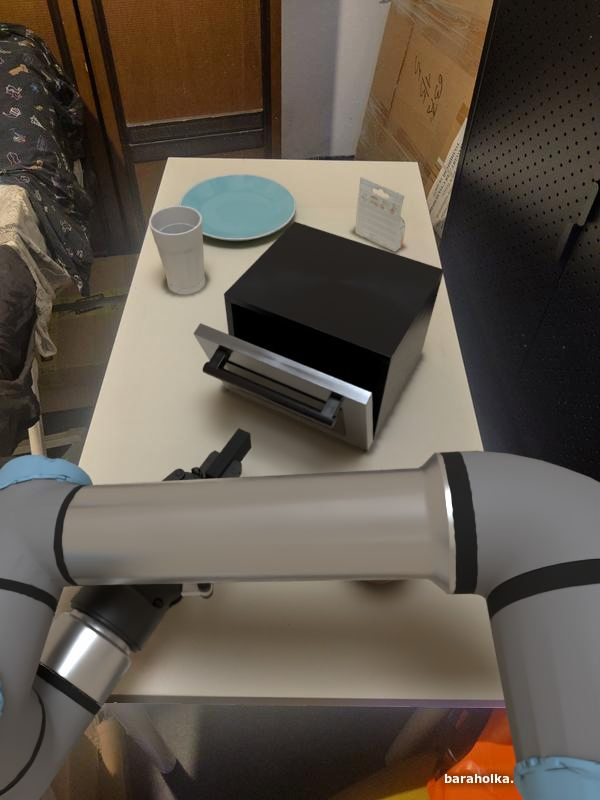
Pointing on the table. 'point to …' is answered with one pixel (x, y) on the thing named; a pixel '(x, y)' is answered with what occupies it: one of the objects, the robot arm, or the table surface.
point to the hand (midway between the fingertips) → (245, 437)
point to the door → (289, 387)
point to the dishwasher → (337, 310)
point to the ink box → (380, 216)
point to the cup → (180, 247)
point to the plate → (240, 206)
